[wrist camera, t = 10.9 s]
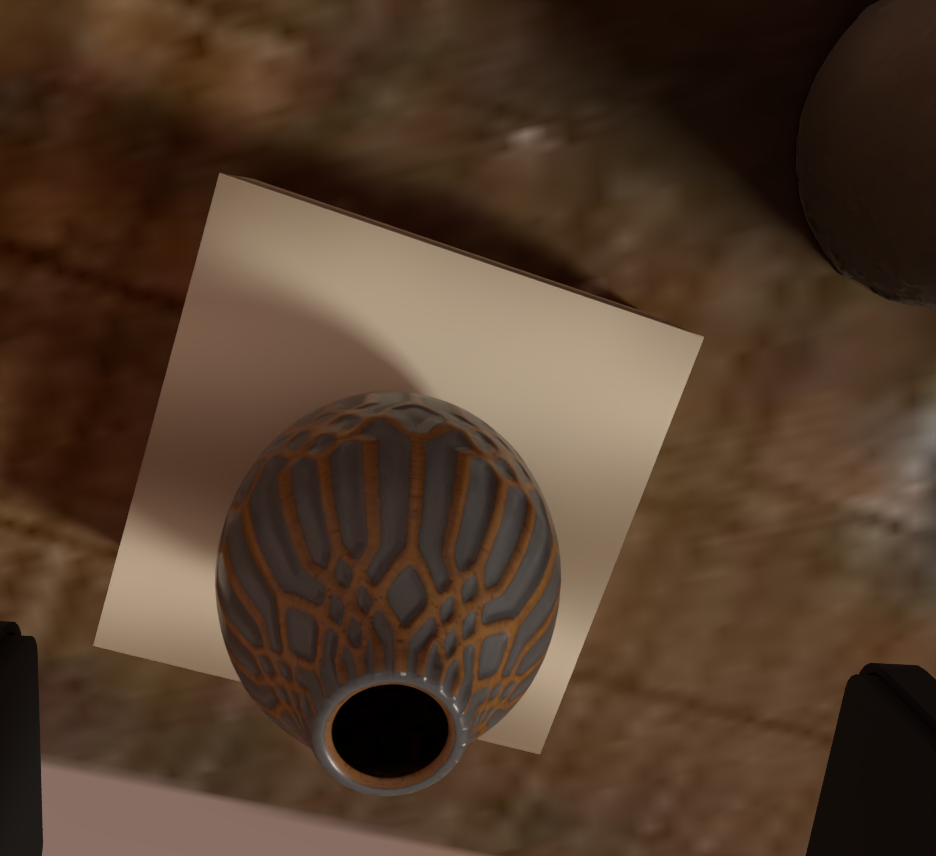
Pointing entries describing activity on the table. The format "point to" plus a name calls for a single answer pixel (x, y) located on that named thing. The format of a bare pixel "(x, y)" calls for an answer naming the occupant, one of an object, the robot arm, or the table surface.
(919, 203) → the pillar candle
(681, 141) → the table surface
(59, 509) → the table surface
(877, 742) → the robot arm
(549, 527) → the vase
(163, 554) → the maple block
